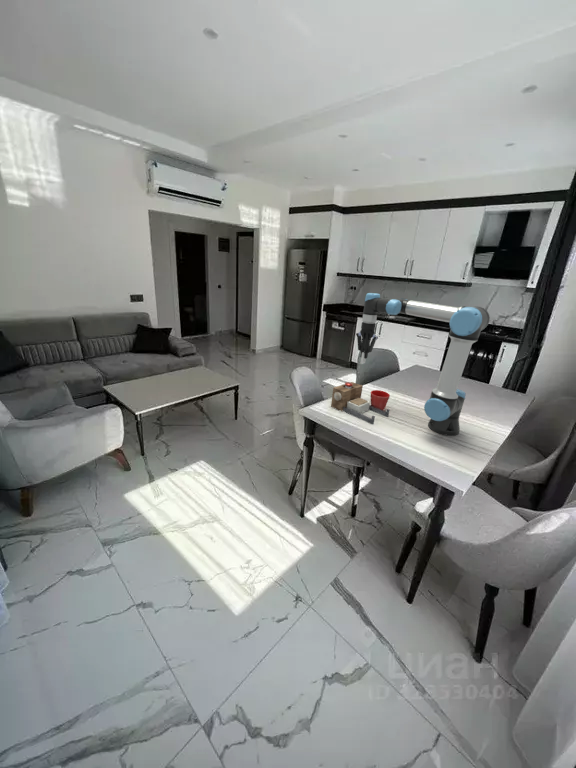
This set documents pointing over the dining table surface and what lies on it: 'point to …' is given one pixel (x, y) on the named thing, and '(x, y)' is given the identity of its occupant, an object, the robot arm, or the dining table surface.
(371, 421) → the rail channel
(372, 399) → the flower pot
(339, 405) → the end cabinet
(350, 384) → the cylinder
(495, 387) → the dining table surface
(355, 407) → the block
